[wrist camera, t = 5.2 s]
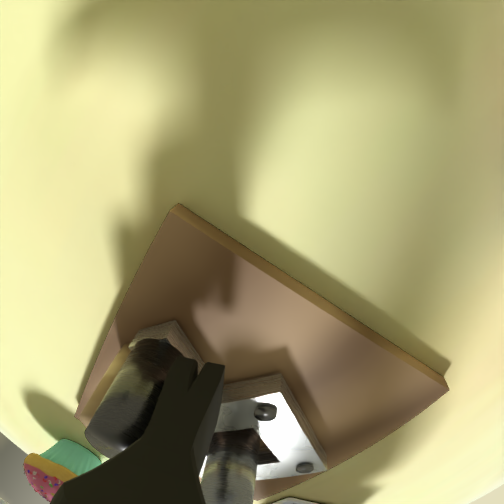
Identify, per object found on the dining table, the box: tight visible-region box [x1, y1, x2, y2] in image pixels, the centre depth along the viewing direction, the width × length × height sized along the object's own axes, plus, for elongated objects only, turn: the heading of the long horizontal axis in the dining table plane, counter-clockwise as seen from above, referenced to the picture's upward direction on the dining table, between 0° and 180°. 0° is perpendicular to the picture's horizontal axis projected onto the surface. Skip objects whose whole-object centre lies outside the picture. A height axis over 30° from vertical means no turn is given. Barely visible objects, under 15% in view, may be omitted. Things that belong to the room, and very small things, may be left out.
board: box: [74, 203, 449, 501], centre depth 16 cm, size 16×18×1 cm
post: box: [201, 428, 261, 504], centre depth 13 cm, size 3×3×6 cm
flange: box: [85, 320, 327, 480], centre depth 12 cm, size 12×8×6 cm, turn 23°
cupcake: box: [23, 439, 101, 502], centre depth 17 cm, size 9×8×12 cm
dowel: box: [79, 343, 131, 427], centre depth 12 cm, size 2×2×4 cm
